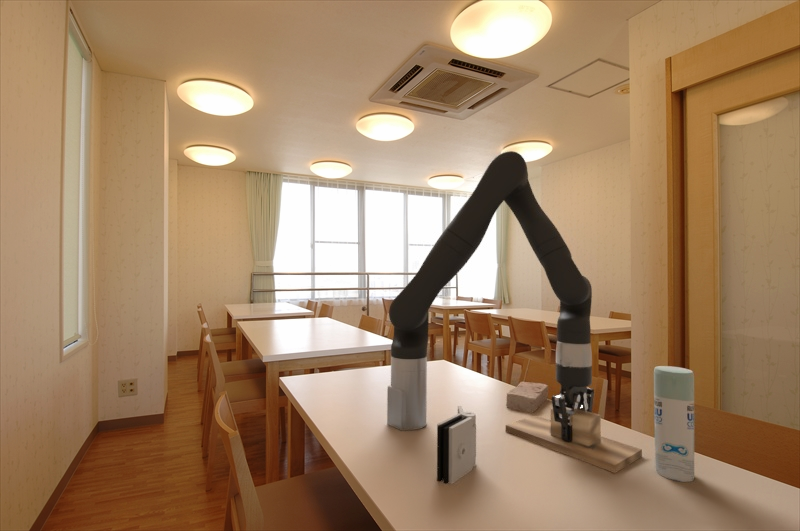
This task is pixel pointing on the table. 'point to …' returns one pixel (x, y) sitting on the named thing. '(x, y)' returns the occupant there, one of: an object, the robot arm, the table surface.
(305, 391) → the table surface
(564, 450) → the board
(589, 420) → the block
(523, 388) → the brick
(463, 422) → the hinge
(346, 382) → the table surface
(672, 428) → the spray paint can
